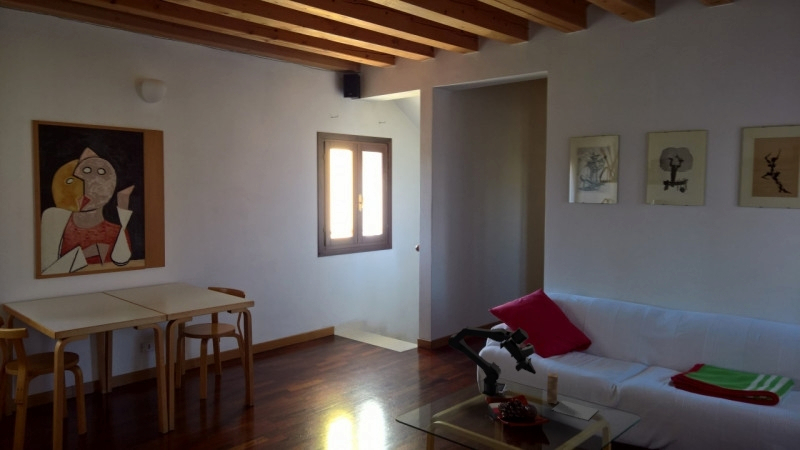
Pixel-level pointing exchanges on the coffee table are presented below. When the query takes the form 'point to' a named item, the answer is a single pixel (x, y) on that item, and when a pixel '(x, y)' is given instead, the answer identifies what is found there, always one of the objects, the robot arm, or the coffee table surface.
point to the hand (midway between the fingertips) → (535, 373)
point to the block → (552, 388)
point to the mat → (575, 410)
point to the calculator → (493, 409)
